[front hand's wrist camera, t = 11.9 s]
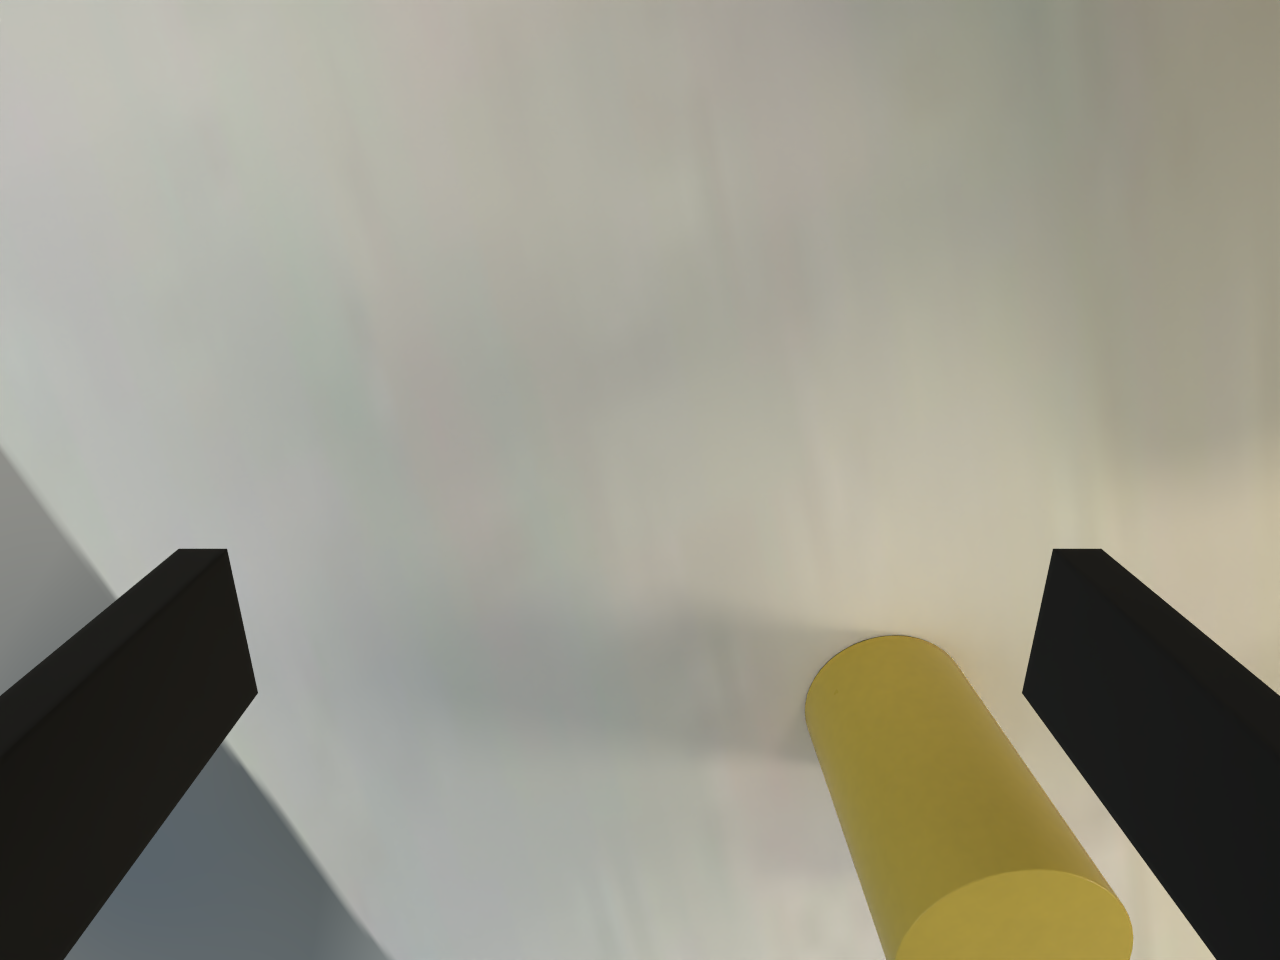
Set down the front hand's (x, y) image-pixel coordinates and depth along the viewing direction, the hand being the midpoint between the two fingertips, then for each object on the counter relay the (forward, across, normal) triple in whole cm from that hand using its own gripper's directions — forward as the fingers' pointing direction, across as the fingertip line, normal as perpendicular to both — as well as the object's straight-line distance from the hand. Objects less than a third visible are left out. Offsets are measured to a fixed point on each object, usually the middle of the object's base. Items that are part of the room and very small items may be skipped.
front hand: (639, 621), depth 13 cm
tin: (+17, +11, -15) cm, 25 cm away
